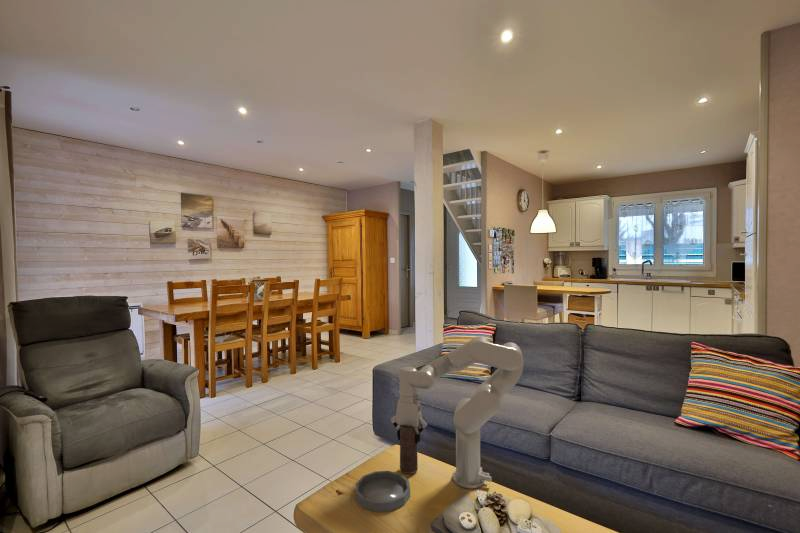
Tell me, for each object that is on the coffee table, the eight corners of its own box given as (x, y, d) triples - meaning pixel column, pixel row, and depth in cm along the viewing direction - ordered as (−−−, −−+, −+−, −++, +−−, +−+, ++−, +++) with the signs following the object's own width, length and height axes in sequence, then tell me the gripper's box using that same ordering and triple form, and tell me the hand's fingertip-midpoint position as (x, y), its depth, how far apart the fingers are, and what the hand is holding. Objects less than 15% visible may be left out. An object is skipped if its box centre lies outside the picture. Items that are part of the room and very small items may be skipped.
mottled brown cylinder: (416, 477, 146) (415, 427, 146) (398, 475, 147) (397, 426, 148) (418, 467, 153) (418, 419, 154) (401, 465, 155) (401, 418, 155)
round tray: (417, 485, 140) (417, 477, 140) (395, 517, 122) (395, 508, 122) (372, 474, 148) (372, 466, 148) (345, 502, 130) (345, 494, 130)
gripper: (431, 397, 151) (431, 440, 150) (393, 392, 158) (393, 433, 157) (425, 403, 144) (425, 448, 143) (385, 397, 151) (385, 440, 151)
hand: (408, 440), depth 150 cm, fingers closed on mottled brown cylinder, 7 cm apart
